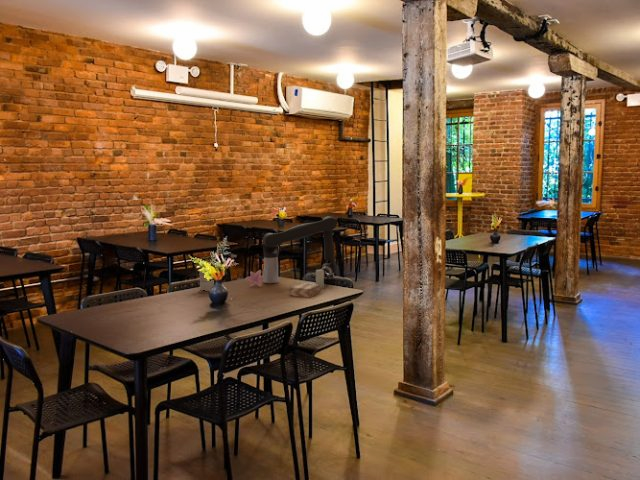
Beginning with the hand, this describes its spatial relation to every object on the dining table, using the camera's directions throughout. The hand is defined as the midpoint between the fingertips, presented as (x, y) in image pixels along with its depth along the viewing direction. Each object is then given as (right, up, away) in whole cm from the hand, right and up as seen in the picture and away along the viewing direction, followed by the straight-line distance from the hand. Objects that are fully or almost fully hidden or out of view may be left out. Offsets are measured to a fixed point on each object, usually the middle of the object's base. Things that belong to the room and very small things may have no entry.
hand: (320, 277), depth 375 cm
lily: (-43, -6, +13) cm, 45 cm away
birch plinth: (-9, -9, -15) cm, 20 cm away
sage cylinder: (0, -7, -1) cm, 7 cm away
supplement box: (-71, -8, +3) cm, 71 cm away
